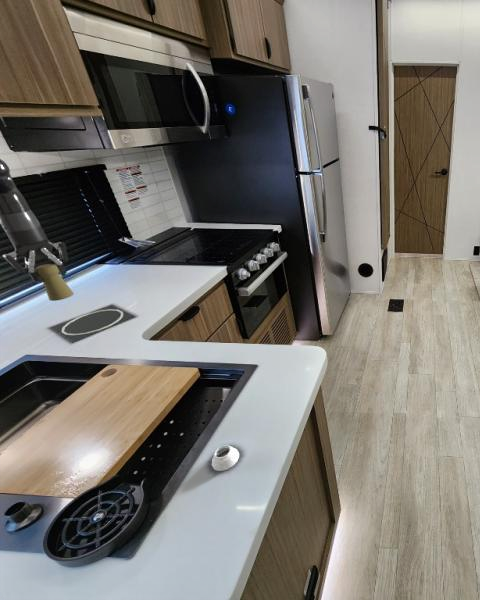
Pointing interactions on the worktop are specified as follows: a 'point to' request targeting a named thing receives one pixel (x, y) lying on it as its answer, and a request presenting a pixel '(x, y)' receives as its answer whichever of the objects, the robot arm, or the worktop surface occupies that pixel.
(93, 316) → the slate board
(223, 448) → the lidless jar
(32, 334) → the worktop surface
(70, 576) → the worktop surface
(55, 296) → the cork
